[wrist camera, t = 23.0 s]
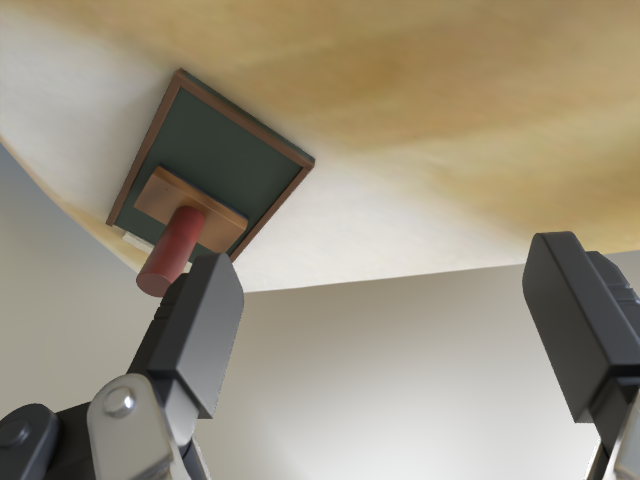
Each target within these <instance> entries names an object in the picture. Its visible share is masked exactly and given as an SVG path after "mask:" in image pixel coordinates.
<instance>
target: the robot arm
mask: <svg viewBox="0 0 640 480" xmlns="http://www.w3.org/2000/svg"><path fill="white" fill-rule="evenodd" d="M522 285H523V293H524V297H525V300H526V303H527V305H528V308H529V310H530V313H531V315H532V318H533V320H534V322H535V325H536V328H537V330H538V332H539V335H540V337H541V340H542V342H543V345H544V347H545V350H546V352H547V355H548V357H549V360H550V362H551V365H552V367H553V370H554V372H555V375H556V377H557V380H558V382H559V385H560V387H561V390H562V392H563V395H564V397H565V400H566V402H567V405H568V407H569V410H570V412H571V415H572V417H573V419H574V422H575V423H594V424H595V426H596V428H597V431H598V433H599V435H600V438H599V440H598V442H597V444H596V447H595V449H594V452H593V455H592V457H591V460H590V463H589V465H588V468H587V471H586V473H585V476H584V479H583V480H640V299H639V298H638V296H637V295H636V293H635V292H634V290H633V289H632V288H630V287H629V283H628V281H627V280H626V278H625V277H624V275H623V274H622V273H621V271H620V270H619V268H618V267H617V266H616V265H615V264H614V263H612V262H611V261H610V260H608V259H607V258H606V257H604V256H603V255H602V254H600V253H599V252H597V251H589V252H585V250H584V249H583V247H582V246H581V244H580V242H579V241H578V239H577V237H576V236H575V235H574V234H573V233H572V232H571V231H564V232H548V233H536V234H535V235H534V236H533V239H532V242H531V246H530V250H529V254H528V258H527V262H526V266H525V269H524V273H523V280H522ZM243 307H244V294H243V289H242V286H241V284H240V282H239V279H238V277H237V275H236V272H235V270H234V268H233V265H232V263H231V261H230V258H229V256H228V255H227V254H226V253H224V252H223V253H207V254H198V255H197V256H196V257H195V259H194V261H193V264H192V266H191V268H190V270H189V273H181V274H180V275H179V276H178V278H177V279H176V280H175V281H174V282H173V283H172V284H171V285H170V286H169V287H168V288H167V290H166V292H165V295H164V297H163V299H162V301H161V303H160V307H158V309H157V311H156V313H155V315H154V320H152V322H151V324H150V326H149V328H148V330H147V332H146V334H145V336H144V338H143V340H142V342H141V344H140V346H139V348H138V351H137V353H136V355H135V357H134V359H133V361H132V363H131V365H130V367H129V369H128V371H127V373H126V374H125V375H122V376H119V377H117V378H115V379H113V380H112V381H110V382H109V383H108V384H106V385H105V386H104V387H103V388H102V389H101V390H100V391H99V392H98V393H97V394H96V396H95V397H94V399H93V400H92V401H91V402H87V403H84V404H81V405H78V406H75V407H72V408H69V409H66V410H63V411H60V412H57V413H54V412H52V411H51V410H50V409H48V408H47V407H46V406H44V405H42V404H35V403H34V404H28V405H25V406H22V407H20V408H18V409H16V410H14V411H13V412H11V413H10V414H8V415H7V416H5V417H4V418H3V419H2V420H1V421H0V480H212V479H211V476H210V474H209V471H208V468H207V466H206V463H205V461H204V458H203V455H202V453H201V450H200V448H199V445H198V442H197V440H196V437H195V435H194V433H193V430H194V427H195V424H196V420H197V419H212V418H213V415H214V412H215V408H216V405H217V401H218V397H219V393H220V390H221V387H222V383H223V380H224V376H225V372H226V369H227V365H228V362H229V358H230V355H231V351H232V347H233V344H234V340H235V337H236V333H237V329H238V326H239V322H240V319H241V315H242V311H243Z"/></svg>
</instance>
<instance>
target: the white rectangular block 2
mask: <svg viewBox="0 0 640 480" xmlns="http://www.w3.org/2000/svg"><path fill="white" fill-rule="evenodd" d="M191 266H192V263H190V262H187V264H186V266H185V268H184V270H183V271H184V272H186V273H188V272H189V270H190V268H191Z"/></svg>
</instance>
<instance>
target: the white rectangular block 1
mask: <svg viewBox="0 0 640 480" xmlns="http://www.w3.org/2000/svg"><path fill="white" fill-rule="evenodd" d="M122 240H123V241H125V242H127V243H129V244H131V245H133V246H135V247H137V248H138V249H140V250H142V251H144V252H146V253H148V254H150V253H151V252H152V250H153V248H154V245H152V244H150V243H149V242H147V241H145V240H143V239H141V238H139V237H138V236H136V235H134V234H132V233H130V232H128V231H127V232H126V233H125V235H124V236H123V238H122Z"/></svg>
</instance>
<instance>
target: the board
mask: <svg viewBox="0 0 640 480" xmlns="http://www.w3.org/2000/svg"><path fill="white" fill-rule="evenodd" d="M160 163H162V164H164V165H165V166H167V167H168V168H170V169H172V170H173V171H175V172H176V173H178V174H180V175H181V176H183V177H185V178H186V179H188V180H189V181H191V182H193V183H194V184H196V185H197V186H199V187H201V188H202V189H204V190H205V191H207V192H209V193H210V194H212V195H213V196H215V197H217V198H218V199H220V200H222V201H223V202H225V203H226V204H228V205H230V206H231V207H233V208H234V209H236V210H238V211H239V212H241V213H242V214H244V215H246V216H247V217H249V220H248V223H247V226H246V229H245V231H244V232H243V233H242V234H241V235H240V236H239V237H238V238H237V240H236V241H235V242H234V243H233V244H232V245H231V246H230V247H229V248H228V249H227V251H226V252H225V253H226V254H227V255H228V256H229V258H230V261H231V263H233V262H234V260H235V259H236V258H237V257H238V256H239V255H240V253H241V252H242V251H243V250H244V249H245V247H246V246H247V245H248V244H249V243H250V242H251V240H252V239H253V238H254V237H255V236H256V235H257V233H258V232H259V231H260V230H261V229H262V227H263V226H264V225H265V224H266V223H267V222H268V220H269V219H270V218H271V217H272V216H273V215H274V213H275V212H276V211H277V210H278V209H279V207H280V206H281V205H282V204H283V203H284V202H285V200H286V199H287V198H288V197H289V196H290V195H291V193H292V192H293V191H294V190H295V189H296V187H297V186H298V185H299V184H300V183H301V182H302V180H303V179H304V178H305V177H306V176H307V175H308V173H309V172H310V171H311V170H312V169H313V168H314V164H315V159H314V158H313V157H311V156H310V155H308V154H307V153H305V152H304V151H302V150H301V149H299V148H298V147H296V146H295V145H293V144H292V143H290V142H289V141H288V140H286V139H285V138H283V137H282V136H280V135H279V134H277V133H276V132H274V131H273V130H271V129H270V128H268V127H267V126H266V125H264V124H263V123H261V122H260V121H258V120H257V119H255V118H254V117H252V116H251V115H249V114H248V113H246V112H245V111H243V110H242V109H241V108H239V107H238V106H236V105H235V104H233V103H232V102H230V101H229V100H227V99H226V98H224V97H223V96H221V95H220V94H218V93H217V92H216V91H214V90H213V89H211V88H210V87H208V86H207V85H205V84H204V83H202V82H201V81H199V80H198V79H196V78H195V77H193V76H192V75H191V74H189V73H188V72H186V71H185V70H183V69H182V68H180V69H179V70H178V71H177V72H176V73H175V74H174V76H173V78H172V80H171V82H170V85H169V87H168V89H167V91H166V93H165V95H164V98H163V100H162V102H161V104H160V106H159V108H158V111H157V113H156V115H155V117H154V119H153V121H152V124H151V126H150V128H149V130H148V132H147V134H146V137H145V139H144V141H143V143H142V145H141V147H140V150H139V152H138V154H137V156H136V158H135V160H134V163H133V165H132V167H131V169H130V171H129V173H128V176H127V178H126V180H125V182H124V184H123V186H122V189H121V191H120V193H119V195H118V197H117V199H116V202H115V204H114V206H113V208H112V210H111V212H110V215H109V217H108V219H107V221H106V224H107V225H109V226H111V227H112V226H113V225H116V226H118V227H120V228H122V229H124V230H126V231H128V232H130V233H132V234H134V235H136V236H138V237H140V238H142V239H144V240H146V241H148V242H150V243H152V244H154V245H156V243H157V241H158V239H159V238H160V236H161V234H162V233H163V231H164V229H165V227H166V226H167V225H165V224H163V223H162V222H160V221H158V220H156V219H155V218H153V217H151V216H149V215H147V214H146V213H144V212H142V211H140V210H139V209H137V208H135V207H133V205H134V203H135V202H136V200H137V198H138V197H139V195H140V193H141V191H142V190H143V188H144V186H145V185H146V183H147V181H148V180H149V178H150V176H151V175H152V173H153V172H154V170H155V169H156V168H157V166H158V165H159V164H160ZM207 253H215V252H213V251H212V250H210V249H208V248H206V247H204V246H203V245H201V244H199V243H197V242H196V244H195V246H194V249H193V251H192V253H191V255H190V257H189V259H188V262H190V263H192V264H193V261H194V259H195V257H196V256H197V255H198V254H207Z"/></svg>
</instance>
